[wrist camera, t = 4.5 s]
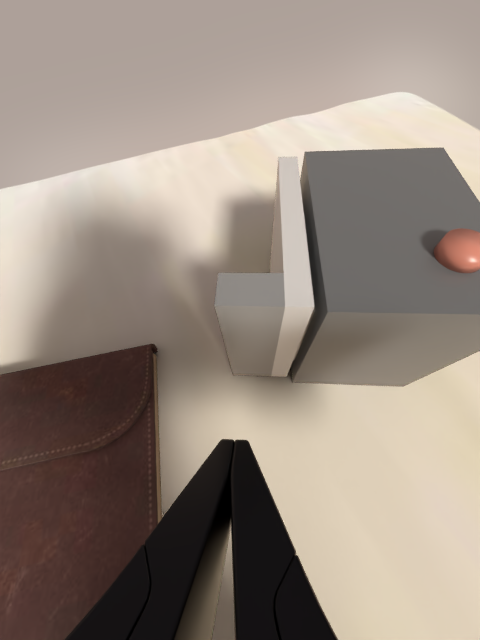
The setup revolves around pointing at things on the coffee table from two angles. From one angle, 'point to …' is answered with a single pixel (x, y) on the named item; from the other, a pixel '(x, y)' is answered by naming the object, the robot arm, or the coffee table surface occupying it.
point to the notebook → (74, 485)
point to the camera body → (388, 266)
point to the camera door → (270, 291)
